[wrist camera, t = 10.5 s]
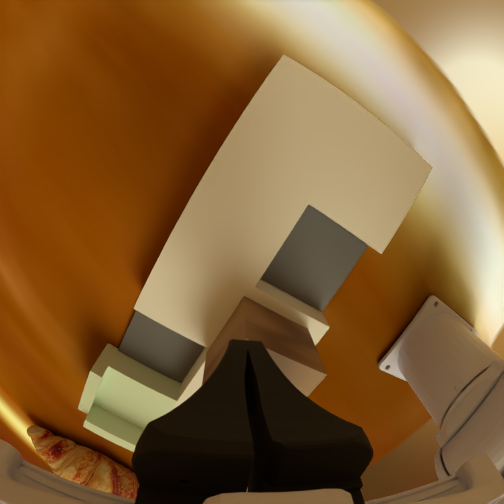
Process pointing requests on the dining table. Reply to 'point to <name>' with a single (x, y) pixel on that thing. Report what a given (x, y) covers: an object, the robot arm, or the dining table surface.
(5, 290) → the dining table surface
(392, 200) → the board
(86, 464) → the croissant
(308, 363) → the walnut block
